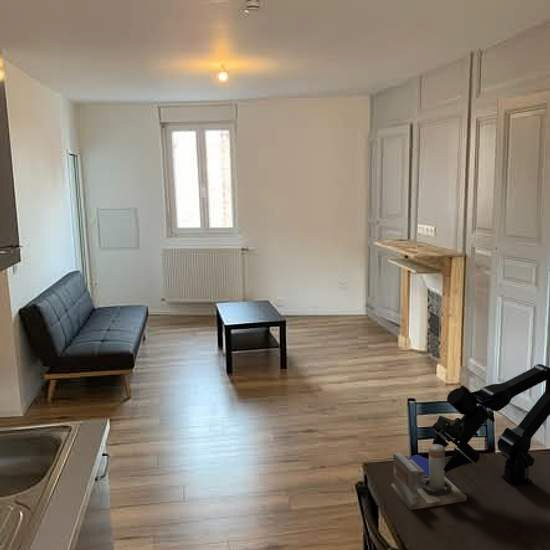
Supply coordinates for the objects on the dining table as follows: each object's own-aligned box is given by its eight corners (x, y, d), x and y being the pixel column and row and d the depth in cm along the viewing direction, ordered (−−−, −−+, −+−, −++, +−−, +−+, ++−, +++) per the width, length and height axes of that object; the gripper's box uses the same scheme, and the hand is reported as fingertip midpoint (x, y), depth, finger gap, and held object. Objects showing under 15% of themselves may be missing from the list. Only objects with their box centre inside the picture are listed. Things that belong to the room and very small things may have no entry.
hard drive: (400, 460, 187) (429, 475, 177) (417, 453, 192) (446, 467, 181) (400, 465, 188) (429, 480, 177) (417, 458, 192) (446, 472, 182)
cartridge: (444, 485, 170) (444, 444, 168) (445, 493, 166) (445, 451, 164) (428, 484, 171) (428, 443, 169) (429, 492, 167) (429, 450, 165)
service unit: (443, 479, 176) (444, 445, 175) (466, 500, 164) (467, 464, 162) (391, 487, 172) (391, 452, 171) (410, 509, 160) (410, 472, 158)
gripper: (437, 396, 175) (404, 435, 174) (470, 419, 157) (434, 462, 156) (460, 417, 178) (428, 455, 177) (495, 442, 160) (460, 484, 159)
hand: (436, 463), depth 167 cm, fingers open, 9 cm apart
